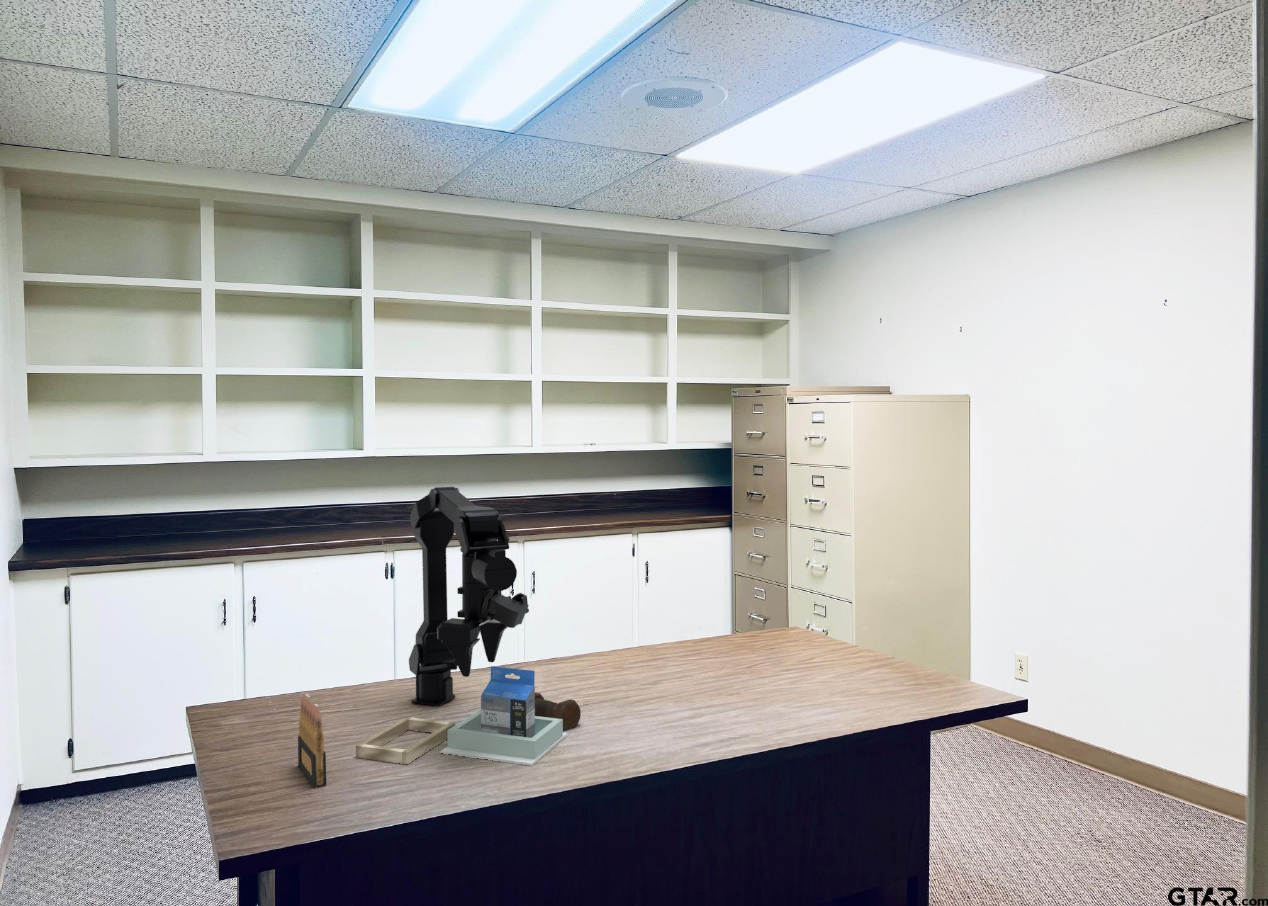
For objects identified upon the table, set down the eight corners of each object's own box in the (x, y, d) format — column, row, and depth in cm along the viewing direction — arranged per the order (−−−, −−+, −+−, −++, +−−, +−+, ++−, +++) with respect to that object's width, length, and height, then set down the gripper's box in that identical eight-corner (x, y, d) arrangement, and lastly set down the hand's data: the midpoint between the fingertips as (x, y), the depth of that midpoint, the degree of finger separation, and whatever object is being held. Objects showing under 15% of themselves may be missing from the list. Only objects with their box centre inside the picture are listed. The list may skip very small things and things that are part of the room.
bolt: (522, 719, 171) (574, 736, 160) (504, 712, 167) (555, 728, 157) (533, 690, 173) (585, 704, 162) (515, 682, 170) (566, 696, 159)
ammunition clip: (297, 766, 143) (296, 693, 142) (309, 763, 144) (308, 691, 143) (314, 788, 134) (312, 710, 134) (326, 785, 135) (325, 708, 135)
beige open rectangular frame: (355, 757, 146) (355, 745, 146) (406, 728, 160) (406, 717, 160) (407, 764, 143) (407, 752, 143) (454, 734, 157) (454, 723, 157)
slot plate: (440, 753, 148) (440, 733, 148) (483, 724, 162) (483, 706, 162) (531, 766, 142) (531, 745, 142) (568, 735, 157) (568, 716, 156)
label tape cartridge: (479, 742, 152) (479, 672, 152) (490, 734, 156) (489, 665, 155) (526, 748, 149) (525, 676, 149) (536, 740, 153) (535, 670, 152)
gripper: (495, 594, 142) (495, 689, 142) (543, 574, 159) (542, 659, 160) (435, 589, 145) (435, 682, 146) (488, 570, 163) (488, 653, 164)
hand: (479, 669), depth 154 cm, fingers open, 9 cm apart
